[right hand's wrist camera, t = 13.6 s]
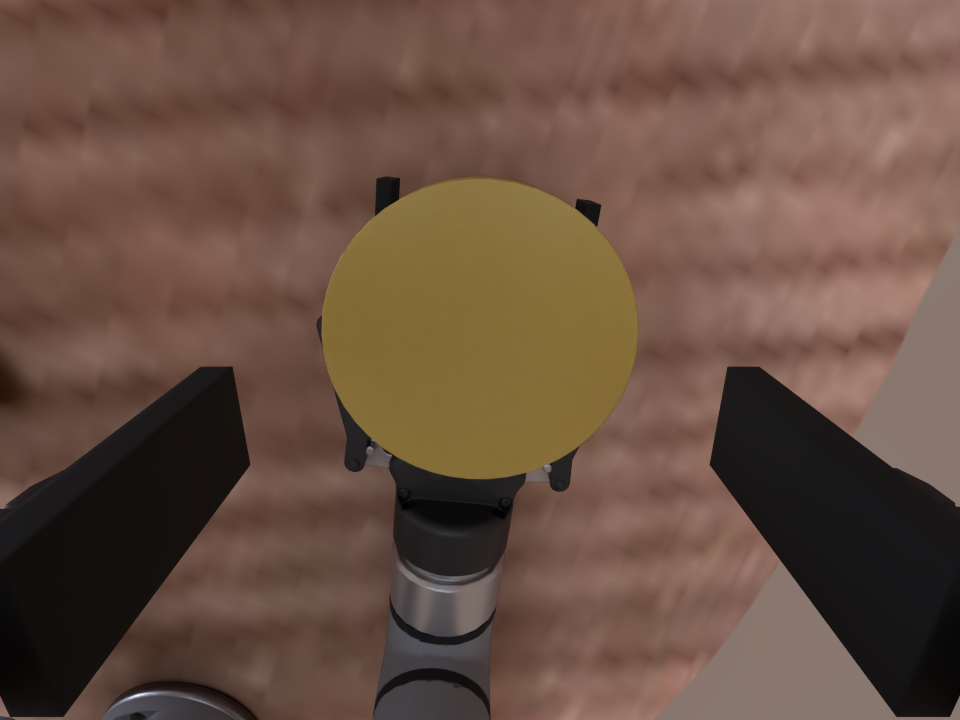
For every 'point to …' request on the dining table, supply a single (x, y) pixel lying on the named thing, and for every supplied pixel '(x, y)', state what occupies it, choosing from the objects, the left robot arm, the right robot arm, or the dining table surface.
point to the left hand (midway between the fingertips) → (489, 190)
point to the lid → (479, 328)
